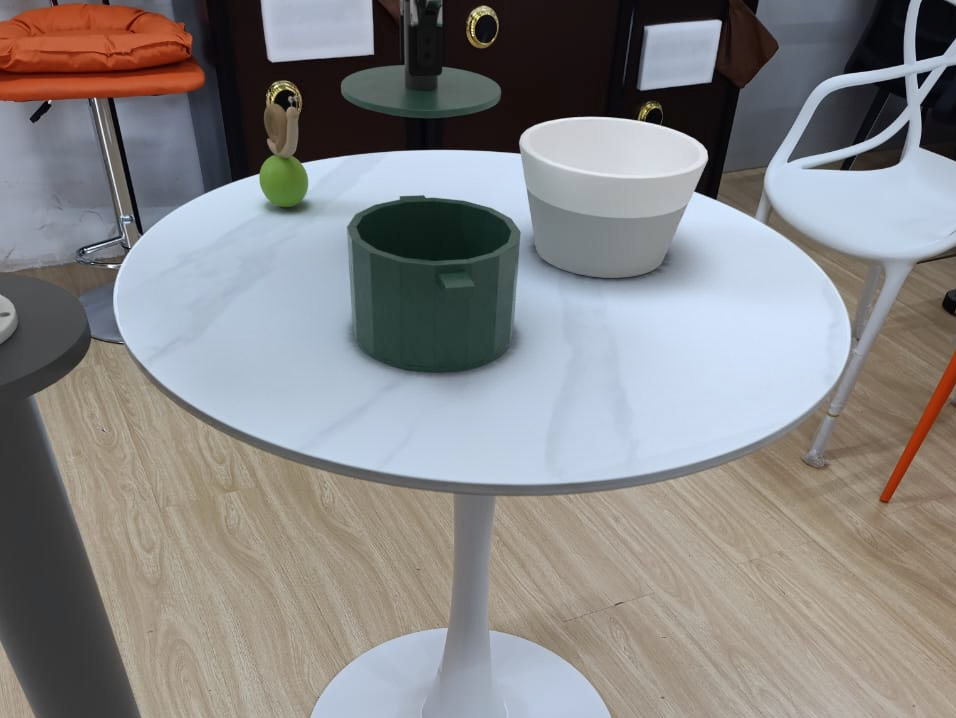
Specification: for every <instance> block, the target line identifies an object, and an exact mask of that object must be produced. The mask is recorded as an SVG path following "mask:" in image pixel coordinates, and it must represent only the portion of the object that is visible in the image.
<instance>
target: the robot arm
mask: <svg viewBox="0 0 956 718" xmlns="http://www.w3.org/2000/svg"><path fill="white" fill-rule="evenodd" d="M399 11H400V14H399V15H398V16H399V56H400V57H399V60H400V63H401V64H402V65H405V53H404V0H399ZM410 13H411V25H407V30H408V72H409V74H410V75H411V76H438V75H441V73H442V67H443V34H444V33H443V30H444V29H443V27H444V26H443V0H410ZM17 325H18V316H17V313H16V311H15V308H14V305H13V304H12V303H11V302H10V301H9V299H7V298H5V297H4V296H2V295H0V344H2V343H3V342H4V341H6V340H7V339H8V338H9V337H10V336H11V335H12V334H13V332H14V331H15V330H16V328H17Z"/></svg>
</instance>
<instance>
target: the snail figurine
mask: <svg viewBox="0 0 956 718" xmlns="http://www.w3.org/2000/svg"><path fill="white" fill-rule="evenodd" d="M299 100H300V99H299V96H298V95H296V94H295V95H294V96H290V95H289V96H288V98H287V101H288V102H289V103H290V106H289V107H287V109H286V111H285V109H284V108H283V107H282V106H281V105H280V104H277V103H270V104H268V105H267V106H266V107H265V109H264V114H263V123H264V128H265V131H266V133H267V135H268V138H267V140H266V143H267V145H268V148H269V150H270V151H271V153H272V154H273V155H271V156H270V157H268V158H267V159H265V161H264V162H263V163H262V165H261V168H260V170H259V177H258V179H259V180H258V181H259V185H260V190H261V191H262V194H263V195H264V196H265V198H266V199H267V200H268V201H269V202H270V203H272V204H273V205H275V206H278V207H280V208H292V207H294V206H296V205H299V204H300V203H301V202H303V200H304V198H305V197H306V196H307V192H308V189H309V177H308V173H307V170H306V168H305V167H304V165H303V164H302V162H301V161H300V160H299V159H297V158H296V157H294V153H296V150H297V146H298V141H299V119H300V114H299V111H298V101H299ZM294 102H295V104H296V107H295V106H293V103H294Z"/></svg>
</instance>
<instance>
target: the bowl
mask: <svg viewBox="0 0 956 718" xmlns="http://www.w3.org/2000/svg"><path fill="white" fill-rule="evenodd" d="M518 145H519V151H520V158H521V164H522V171H523V176H524V183H525V187H526V188H525V189H526V194H527V200H528V207H529V214H530V220H531V226H532V234H533V240H534V245H535V250H536V253H537V254H538V255H539V257H540V258H541V259H542V260H543V261H545V262H546V263H548V264H550V265H551V266H553V267H555V268H558V269H560V270H563V271H566V272H569V273H572V274H576V275H580V276H587V277H593V278H603V279H620V278H630V277H631V278H632V277H637V276H641V275H644V274H648V273H650V272H652V271H654V270H656V269H658V268H659V267H660V266H661V265H662V263H663V261H664V260H665V257H666V255H667V253H668V250H669V248H670V245H671V244H672V242H673V239H674V236H675V235H676V233H677V230H678V228H679V225H680V223H681V221H682V219H683V216H684V214H685V211H687V207H688V205H689V203H690V202H691V199H692V197H693V195H694V193H695V190H696V188H697V185H698V183H699V181H700V179H701V176H702V174H703V172H704V169H705V167H706V166H707V164H708V161H709V155H708V150H707V149H706V147H705V146H704V144H702V143H700V141H698V140H697V139H696V138H694V137H691V136H690V135H688V134H686V133H684V132H681V131H678V130H676V129H673V128H671V127H667V126H664V125H661V124H660V125H659V124H656V123H653V122H652V123H651V122H646V121H642V120H635V119H628V118H621V117H619V118H618V117H607V116H583V117H582V116H577V117H566V118H565V117H564V118H558V119H553V120H547V121H544V122H540V123H537V124H535V125H533V126H531V127H528V128H527V129H525V130H524V131H523V133H522V134H521V135H520V138H519V141H518Z"/></svg>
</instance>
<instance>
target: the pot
mask: <svg viewBox="0 0 956 718" xmlns="http://www.w3.org/2000/svg"><path fill="white" fill-rule="evenodd" d="M521 233H522V232H521V230H520V229H519V228H518V226H517V224H516V223H515V222H514V221H513V218H511V217H510V216H508V215H505V214H504V213H502V212H500V211H498V210H497V209H494V208H493V207H489V206H485V205H482V204H477V203H474V202H470V201H466V200H461V199H451V198H450V199H449V198H443V197H441V198H440V197H426V195H424V194H419V195H399V199H396V200H391V201H386V202H381V203H377V204H373V205H371V206H370V207H367V208H365V209H363V210H361V211H359V212H357V213H356V214H354V216H353V217H352V219H351V220H350V221H349V223H348V225H346V235H347V236H346V238H347V253H348V271H349V288H350V289H349V290H350V304H351V305H350V306H351V324H352V329H353V335H354V339H355V342H356V344H357V346H358V347H359V348H360V349H361V350H362V351H363V352H364V353H365V354H366V355H367V356H369V357H371V358H372V359H375V360H376V361H378V362H381V363H382V364H385V365H388V366H391V367H394V368H397V369H403V370H406V371H407V370H408V371H413V372H422V373H454V372H461V371H467V370H472V369H475V368H478V367H482V366H485V365H487V364H489V363H491V362H494V361H495V360H497V359H498V358H500V357H502V356H503V355H504V354H505V353H506V352H507V350H508V349H509V347H510V345H511V343H512V340H513V339H512V338H513V332H514V328H515V327H514V325H515V315H516V298H517V287H518V285H517V284H518V272H519V260H520V259H519V258H520V244H521Z"/></svg>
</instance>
